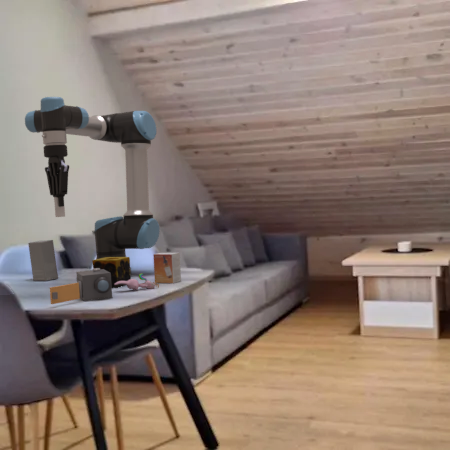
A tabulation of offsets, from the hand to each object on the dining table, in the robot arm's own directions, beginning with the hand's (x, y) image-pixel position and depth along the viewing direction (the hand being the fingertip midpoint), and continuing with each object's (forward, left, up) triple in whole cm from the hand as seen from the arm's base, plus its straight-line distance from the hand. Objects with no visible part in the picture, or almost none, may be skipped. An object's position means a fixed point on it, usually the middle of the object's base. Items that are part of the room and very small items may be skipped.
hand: (60, 216), depth 217 cm
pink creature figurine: (+5, +23, -27) cm, 36 cm away
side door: (+18, -2, -26) cm, 31 cm away
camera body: (+10, +8, -26) cm, 29 cm away
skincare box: (-49, -2, -27) cm, 56 cm away
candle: (-12, +18, -27) cm, 34 cm away
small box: (-6, +37, -27) cm, 46 cm away
